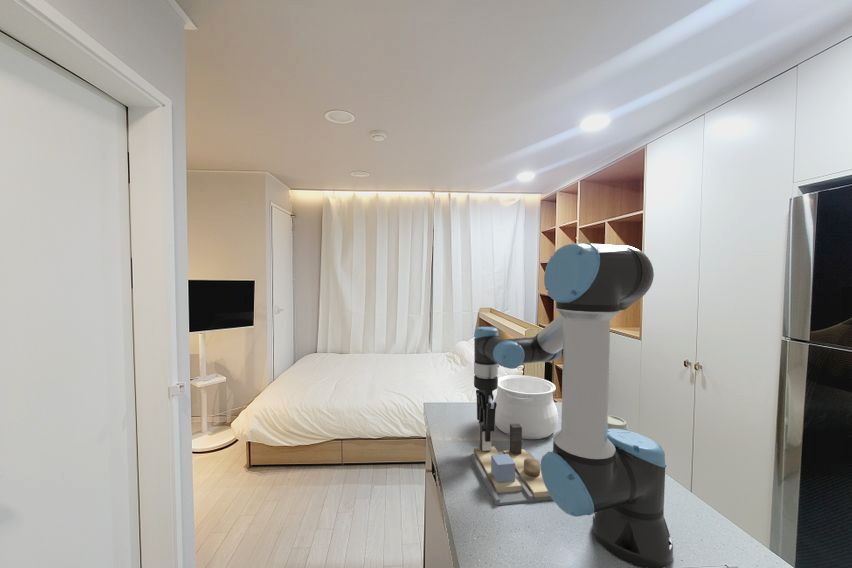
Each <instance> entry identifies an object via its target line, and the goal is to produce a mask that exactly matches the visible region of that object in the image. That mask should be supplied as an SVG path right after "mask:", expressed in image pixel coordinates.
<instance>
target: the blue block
mask: <svg viewBox="0 0 852 568" xmlns="http://www.w3.org/2000/svg"><path fill="white" fill-rule="evenodd" d="M491 473H492V475H493V476H494V478H495V480H496V481H497V483H504V482H515V462H514V461H513V460H512V458H511V457H510V456H509V454H499V455H491Z"/></svg>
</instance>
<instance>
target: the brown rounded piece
mask: <svg viewBox="0 0 852 568" xmlns="http://www.w3.org/2000/svg"><path fill="white" fill-rule="evenodd" d="M540 464H541V461H539V460H538V459H537V458H535V459H533V458H526V459H525V460H524V473H525V474H526V475H528V476H530V477H538V476H539V475H540Z"/></svg>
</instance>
